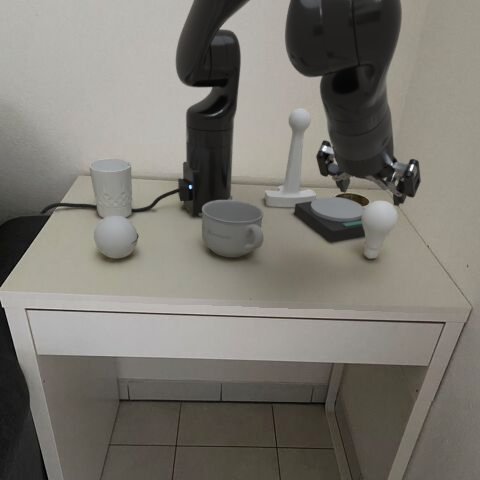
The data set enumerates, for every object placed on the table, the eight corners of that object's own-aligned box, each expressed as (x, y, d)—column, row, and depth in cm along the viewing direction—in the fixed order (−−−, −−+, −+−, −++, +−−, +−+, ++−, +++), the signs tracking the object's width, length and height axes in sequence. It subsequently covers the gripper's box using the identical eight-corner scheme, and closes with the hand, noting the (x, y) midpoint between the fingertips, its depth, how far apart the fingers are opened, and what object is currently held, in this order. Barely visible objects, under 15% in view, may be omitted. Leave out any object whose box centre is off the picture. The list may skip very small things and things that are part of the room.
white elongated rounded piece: (131, 268, 83) (127, 228, 79) (89, 263, 84) (83, 223, 80) (149, 242, 91) (147, 205, 87) (111, 237, 92) (107, 200, 88)
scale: (330, 242, 95) (332, 227, 94) (294, 214, 106) (295, 199, 104) (383, 233, 100) (387, 218, 98) (344, 206, 110) (346, 193, 109)
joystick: (267, 207, 108) (276, 110, 96) (260, 194, 114) (268, 101, 102) (316, 206, 109) (330, 111, 98) (307, 193, 115) (319, 102, 104)
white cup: (131, 204, 105) (128, 157, 99) (137, 219, 99) (133, 170, 93) (93, 207, 103) (87, 159, 97) (97, 222, 97) (90, 172, 91)
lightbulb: (387, 268, 88) (402, 210, 82) (353, 263, 89) (365, 206, 82) (386, 253, 93) (400, 197, 87) (353, 248, 94) (365, 193, 87)
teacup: (193, 240, 93) (193, 200, 88) (246, 233, 97) (248, 194, 92) (220, 277, 83) (222, 233, 78) (278, 267, 86) (282, 225, 82)
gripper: (429, 115, 59) (426, 182, 73) (319, 96, 64) (337, 162, 79) (405, 171, 58) (408, 227, 73) (297, 147, 64) (319, 203, 78)
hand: (371, 193), depth 76 cm, fingers open, 8 cm apart
